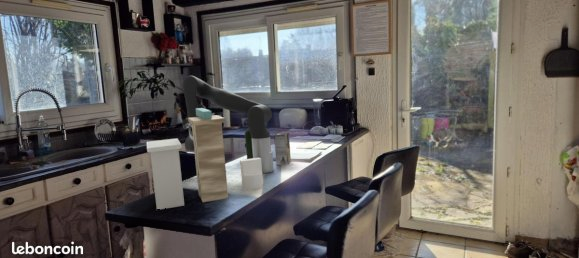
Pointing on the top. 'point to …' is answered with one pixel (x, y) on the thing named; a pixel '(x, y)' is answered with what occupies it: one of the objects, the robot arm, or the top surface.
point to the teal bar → (203, 113)
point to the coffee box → (282, 148)
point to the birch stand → (209, 157)
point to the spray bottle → (248, 143)
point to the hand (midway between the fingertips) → (199, 116)
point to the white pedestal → (166, 172)
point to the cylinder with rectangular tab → (251, 173)
